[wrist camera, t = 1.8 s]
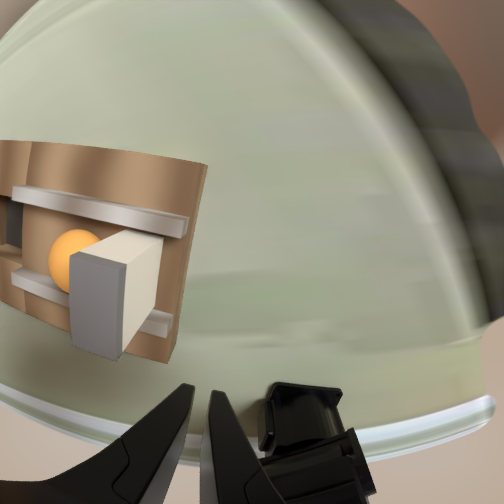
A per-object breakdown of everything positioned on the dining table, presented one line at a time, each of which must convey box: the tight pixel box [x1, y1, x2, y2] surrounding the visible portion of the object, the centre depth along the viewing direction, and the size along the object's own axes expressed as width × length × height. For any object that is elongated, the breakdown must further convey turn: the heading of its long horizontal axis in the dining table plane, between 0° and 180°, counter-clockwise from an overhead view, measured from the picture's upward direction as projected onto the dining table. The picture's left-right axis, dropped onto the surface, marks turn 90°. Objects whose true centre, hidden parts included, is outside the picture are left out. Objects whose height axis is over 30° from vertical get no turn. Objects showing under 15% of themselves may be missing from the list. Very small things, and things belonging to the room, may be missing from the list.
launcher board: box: [0, 140, 208, 364], centre depth 18 cm, size 21×14×4 cm, turn 77°
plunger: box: [69, 229, 164, 362], centre depth 14 cm, size 2×5×6 cm, turn 167°
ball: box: [48, 229, 100, 293], centre depth 16 cm, size 4×4×4 cm
